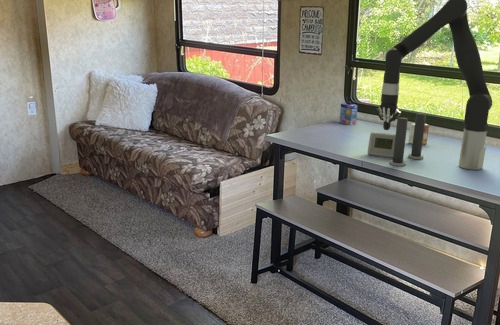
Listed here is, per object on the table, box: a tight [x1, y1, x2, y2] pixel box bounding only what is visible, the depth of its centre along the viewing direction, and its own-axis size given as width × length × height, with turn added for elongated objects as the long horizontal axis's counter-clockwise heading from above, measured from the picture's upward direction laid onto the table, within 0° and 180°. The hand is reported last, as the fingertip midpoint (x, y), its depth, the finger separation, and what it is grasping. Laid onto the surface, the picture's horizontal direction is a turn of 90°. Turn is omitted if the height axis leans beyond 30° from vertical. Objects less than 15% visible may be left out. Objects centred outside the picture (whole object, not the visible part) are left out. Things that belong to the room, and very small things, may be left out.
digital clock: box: [367, 131, 396, 159], centre depth 236 cm, size 16×9×11 cm, turn 54°
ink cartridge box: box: [339, 100, 359, 126], centre depth 307 cm, size 10×6×14 cm, turn 35°
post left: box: [389, 117, 409, 167], centre depth 221 cm, size 7×7×21 cm
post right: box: [407, 112, 427, 160], centre depth 233 cm, size 7×7×21 cm
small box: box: [407, 123, 430, 145], centre depth 261 cm, size 8×6×10 cm
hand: (386, 129), depth 232 cm, fingers closed
